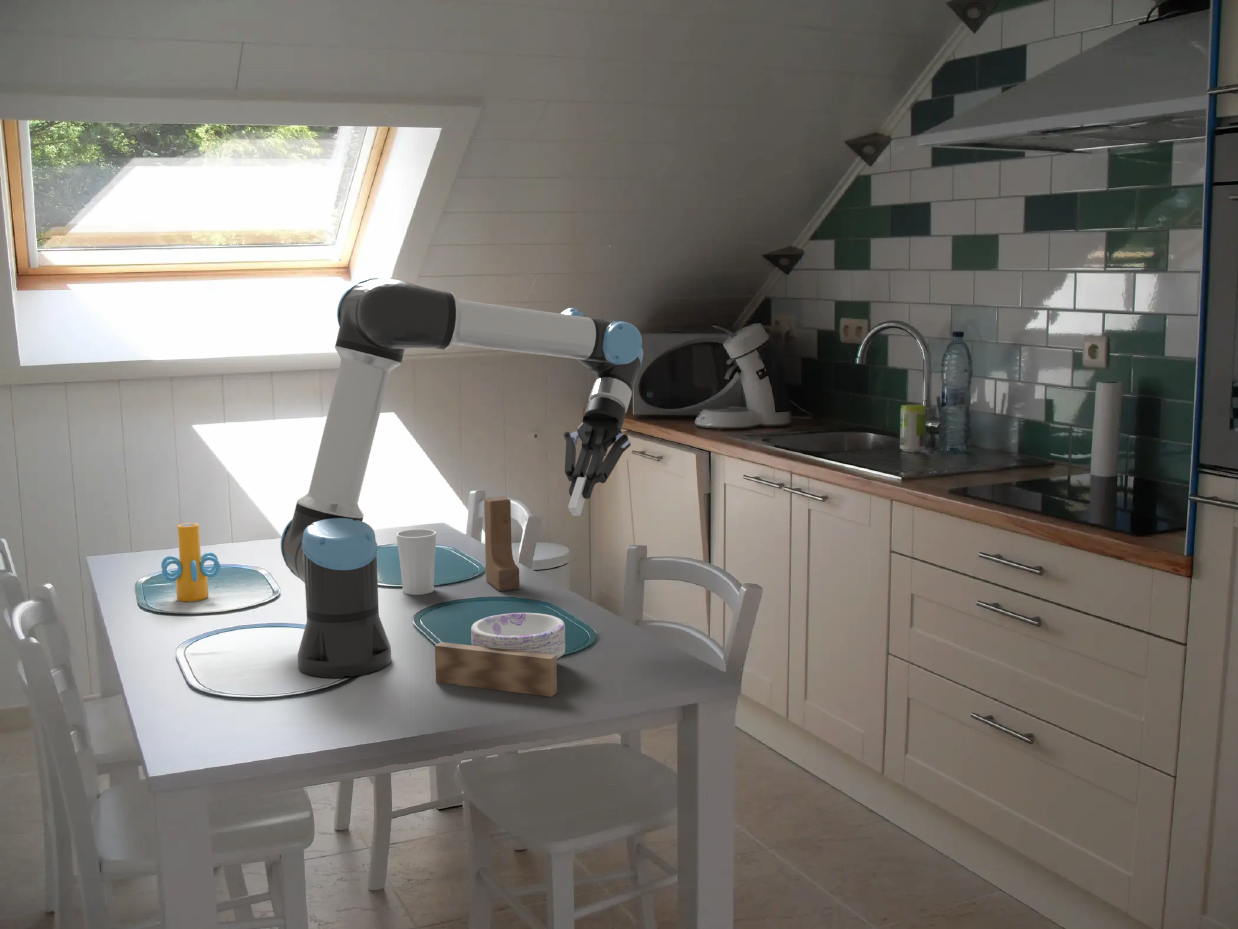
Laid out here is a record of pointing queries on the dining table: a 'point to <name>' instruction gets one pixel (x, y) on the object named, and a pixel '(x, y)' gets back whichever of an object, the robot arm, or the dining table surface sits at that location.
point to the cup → (417, 560)
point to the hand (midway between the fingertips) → (574, 511)
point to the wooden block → (499, 545)
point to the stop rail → (496, 669)
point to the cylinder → (190, 565)
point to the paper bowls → (521, 633)
